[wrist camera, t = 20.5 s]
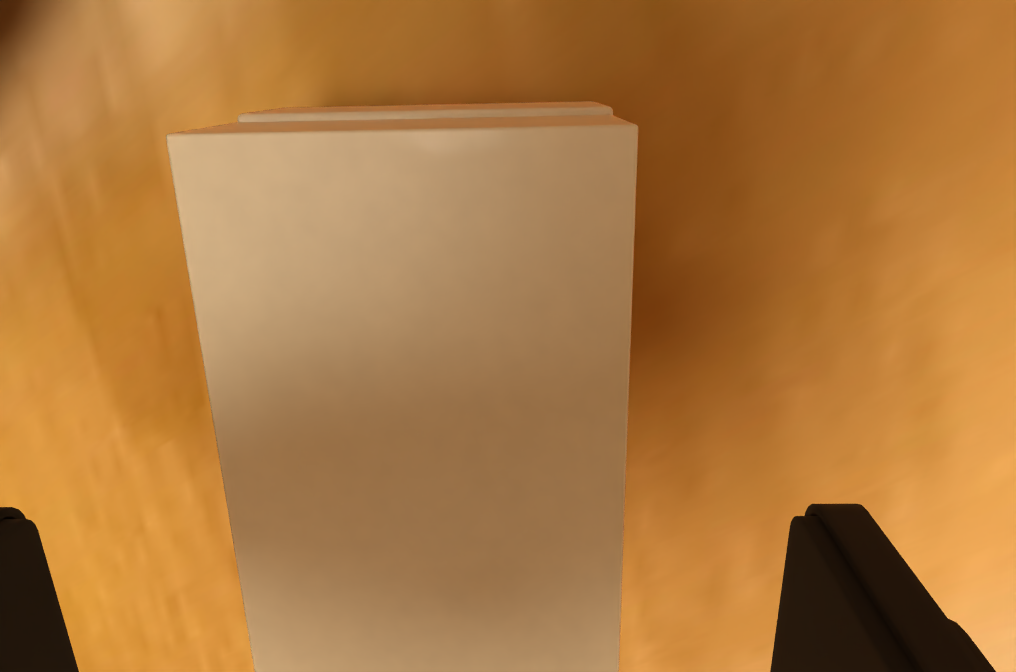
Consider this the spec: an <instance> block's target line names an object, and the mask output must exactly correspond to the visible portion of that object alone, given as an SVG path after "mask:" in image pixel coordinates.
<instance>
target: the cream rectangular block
mask: <svg viewBox="0 0 1016 672" xmlns="http://www.w3.org/2000/svg"><path fill="white" fill-rule="evenodd" d="M166 140H167V146H168V153H169V159H170V165H171V171H172V177H173V183H174V189H175V195H176V201H177V207H178V213H179V219H180V225H181V231H182V237H183V243H184V249H185V255H186V261H187V267H188V273H189V279H190V285H191V291H192V297H193V303H194V309H195V315H196V321H197V327H198V333H199V339H200V345H201V351H202V357H203V363H204V369H205V375H206V381H207V387H208V393H209V399H210V405H211V411H212V417H213V423H214V429H215V435H216V441H217V447H218V453H219V459H220V465H221V471H222V477H223V483H224V489H225V495H226V501H227V507H228V513H229V519H230V525H231V531H232V537H233V543H234V549H235V555H236V561H237V567H238V573H239V579H240V586H241V592H242V598H243V604H244V610H245V616H246V622H247V628H248V634H249V640H250V646H251V652H252V658H253V664H254V670H255V672H619V650H620V622H621V594H622V567H623V539H624V511H625V483H626V456H627V428H628V400H629V373H630V345H631V317H632V289H633V262H634V234H635V206H636V179H637V151H638V126H637V125H636V124H633V123H631V122H628V121H626V120H623V119H620V118H618V117H615V116H613V115H565V116H517V117H469V118H421V119H373V120H325V121H278V122H236V123H230V124H224V125H218V126H212V127H206V128H200V129H194V130H188V131H182V132H177V133H171V134H168V135H166Z"/></svg>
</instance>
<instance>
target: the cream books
mask: <svg viewBox="0 0 1016 672" xmlns="http://www.w3.org/2000/svg"><path fill="white" fill-rule="evenodd" d="M565 115H613V110H612V107H609V106H606V105H603V104H600V103H597V102H593V101H579V102H531V103H482V104H434V105H385V106H337V107H289V108H278V109H271V110H264V111H257V112H250V113H242V114H240V115H238V122H278V121H325V120H373V119H421V118H469V117H517V116H565Z"/></svg>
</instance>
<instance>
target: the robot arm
mask: <svg viewBox="0 0 1016 672" xmlns="http://www.w3.org/2000/svg"><path fill="white" fill-rule="evenodd" d="M0 672H79V671H78V667H77V664H76V660H75V657H74V653H73V650H72V646H71V643H70V640H69V636H68V633H67V629H66V626H65V622H64V619H63V615H62V612H61V609H60V605H59V602H58V598H57V595H56V591H55V588H54V584H53V581H52V577H51V574H50V571H49V567H48V564H47V560H46V557H45V553H44V550H43V546H42V543H41V539H40V536H39V533H38V529H37V527H36V525H35V524H34V523H33V522H32V521H31V520H28V519H26V518H25V516H24V514H23V513H22V512H21V511H20V510H19V509H16V508H12V507H0ZM770 672H996V671H995V670H994V668H993V667H992V666H991V664H990V663H989V662H988V660H987V659H986V658H985V657H984V655H983V654H982V653H981V651H980V650H979V649H978V647H977V646H976V645H975V643H974V642H973V641H972V639H971V638H970V637H969V635H968V634H967V633H966V632H965V631H964V630H963V629H962V628H961V627H960V626H959V625H958V624H957V623H956V622H954V621H952V620H950V619H948V618H947V617H946V616H945V614H944V613H943V612H942V610H941V609H940V608H939V606H938V605H937V604H936V602H935V601H934V600H933V598H932V597H931V596H930V594H929V593H928V591H927V590H926V589H925V587H924V586H923V585H922V583H921V582H920V581H919V579H918V578H917V577H916V575H915V574H914V573H913V571H912V570H911V569H910V567H909V566H908V565H907V563H906V562H905V561H904V559H903V558H902V557H901V555H900V554H899V553H898V551H897V550H896V549H895V547H894V546H893V545H892V543H891V542H890V541H889V539H888V538H887V537H886V535H885V534H884V532H883V531H882V530H881V528H880V527H879V526H878V524H877V523H876V522H875V520H874V519H873V518H872V516H871V515H870V514H869V512H868V511H867V510H866V509H865V508H864V507H863V506H862V505H860V504H811V505H810V506H808V508H807V510H806V512H805V516H795V517H794V518H793V519H792V521H791V525H790V531H789V538H788V546H787V553H786V560H785V568H784V575H783V583H782V590H781V597H780V605H779V612H778V620H777V627H776V634H775V642H774V649H773V657H772V664H771V671H770Z"/></svg>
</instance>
